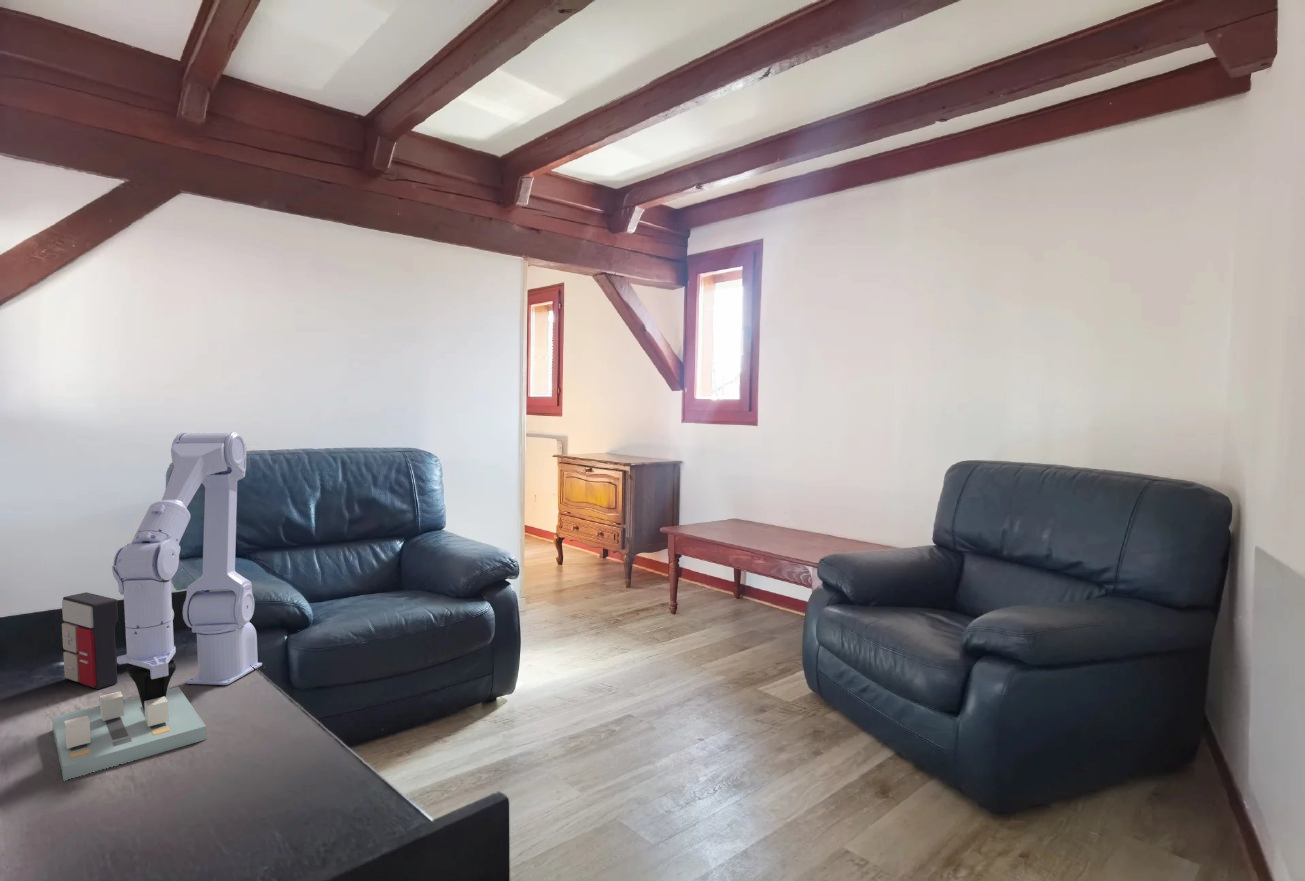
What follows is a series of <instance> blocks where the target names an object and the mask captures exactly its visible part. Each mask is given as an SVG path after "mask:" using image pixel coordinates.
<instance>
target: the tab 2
mask: <svg viewBox="0 0 1305 881" xmlns="http://www.w3.org/2000/svg"><path fill="white" fill-rule="evenodd" d="M123 700H124V696H123V693H122V692H121V690H120V691H116V692H112V693H108V694H104V695H100V696H99V706H100V711H101V718H102V720H103V721H105V720H109V719H113V718H117V717H121V716H124V708H123Z"/></svg>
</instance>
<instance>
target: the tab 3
mask: <svg viewBox="0 0 1305 881" xmlns="http://www.w3.org/2000/svg"><path fill="white" fill-rule="evenodd" d="M144 706H145V722H146V724H147V726H148V727H149V726H153V725H157V724H160V723H164V722H168V721H169V714H168V701H167V699H166V697H165V696H164V697H160V698H156V699H152V700H148V701H144Z"/></svg>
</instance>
